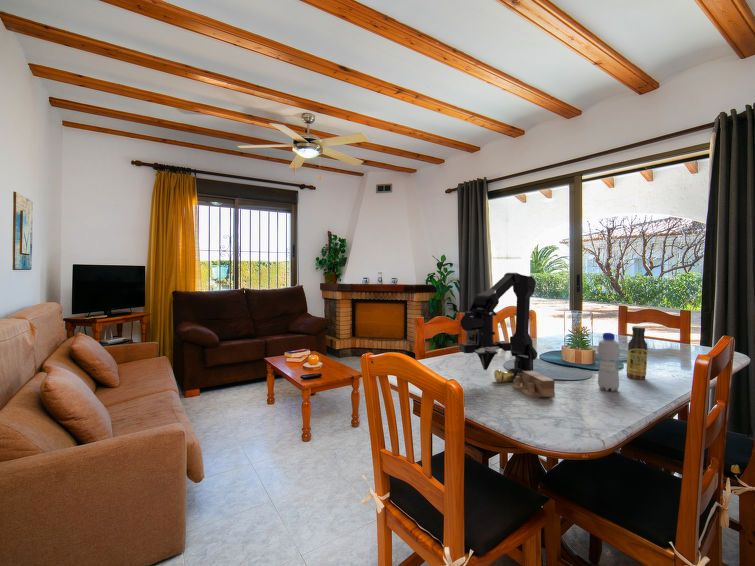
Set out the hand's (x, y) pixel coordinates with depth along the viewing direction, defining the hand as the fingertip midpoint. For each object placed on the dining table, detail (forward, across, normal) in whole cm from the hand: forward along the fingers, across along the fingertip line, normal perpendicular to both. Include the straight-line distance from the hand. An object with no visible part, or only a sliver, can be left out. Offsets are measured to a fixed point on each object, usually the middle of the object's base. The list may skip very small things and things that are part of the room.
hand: (485, 369), depth 137 cm
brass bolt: (+5, -8, 0) cm, 10 cm away
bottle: (+5, -38, +16) cm, 42 cm away
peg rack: (+5, -12, +12) cm, 18 cm away
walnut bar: (+4, -12, +14) cm, 19 cm away
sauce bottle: (+5, -59, +7) cm, 60 cm away
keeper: (+5, -14, 0) cm, 15 cm away
